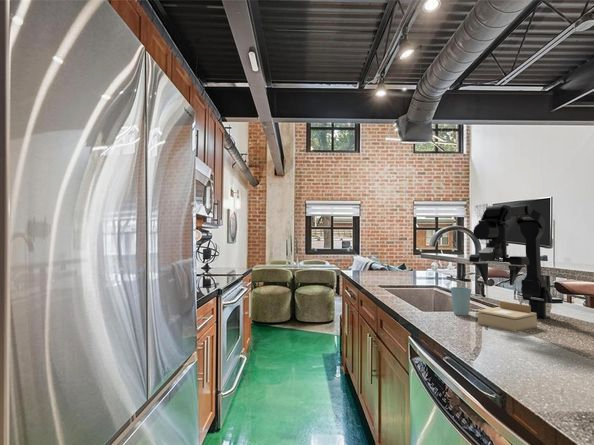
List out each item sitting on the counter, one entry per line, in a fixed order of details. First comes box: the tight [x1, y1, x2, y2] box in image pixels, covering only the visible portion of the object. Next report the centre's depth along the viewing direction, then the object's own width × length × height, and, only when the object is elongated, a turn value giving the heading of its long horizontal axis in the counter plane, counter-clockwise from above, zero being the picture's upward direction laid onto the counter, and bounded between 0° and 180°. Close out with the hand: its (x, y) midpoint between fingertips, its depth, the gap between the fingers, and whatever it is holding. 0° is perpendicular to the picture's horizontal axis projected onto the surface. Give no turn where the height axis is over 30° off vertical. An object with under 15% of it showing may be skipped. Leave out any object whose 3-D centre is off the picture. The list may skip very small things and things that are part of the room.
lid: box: [477, 300, 537, 319], centre depth 126 cm, size 14×13×3 cm
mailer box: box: [477, 312, 538, 333], centre depth 126 cm, size 14×13×4 cm
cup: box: [450, 286, 472, 316], centre depth 145 cm, size 8×8×10 cm
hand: (497, 283), depth 127 cm, fingers open, 9 cm apart
